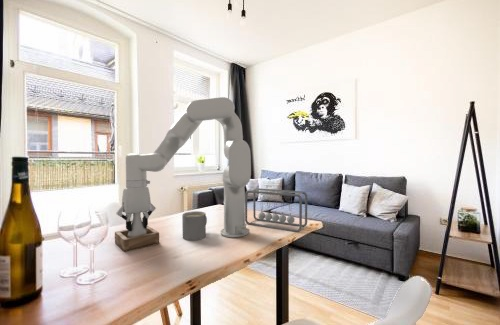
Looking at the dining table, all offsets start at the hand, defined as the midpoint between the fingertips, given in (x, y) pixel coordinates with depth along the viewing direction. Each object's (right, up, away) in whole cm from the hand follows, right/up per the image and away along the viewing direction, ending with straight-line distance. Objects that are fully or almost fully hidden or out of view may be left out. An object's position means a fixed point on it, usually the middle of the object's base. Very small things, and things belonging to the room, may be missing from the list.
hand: (137, 228), depth 98 cm
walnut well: (0, -6, 0) cm, 6 cm away
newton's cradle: (+59, -6, +25) cm, 64 cm away
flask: (0, -3, 0) cm, 3 cm away
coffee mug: (+22, -6, +10) cm, 25 cm away
